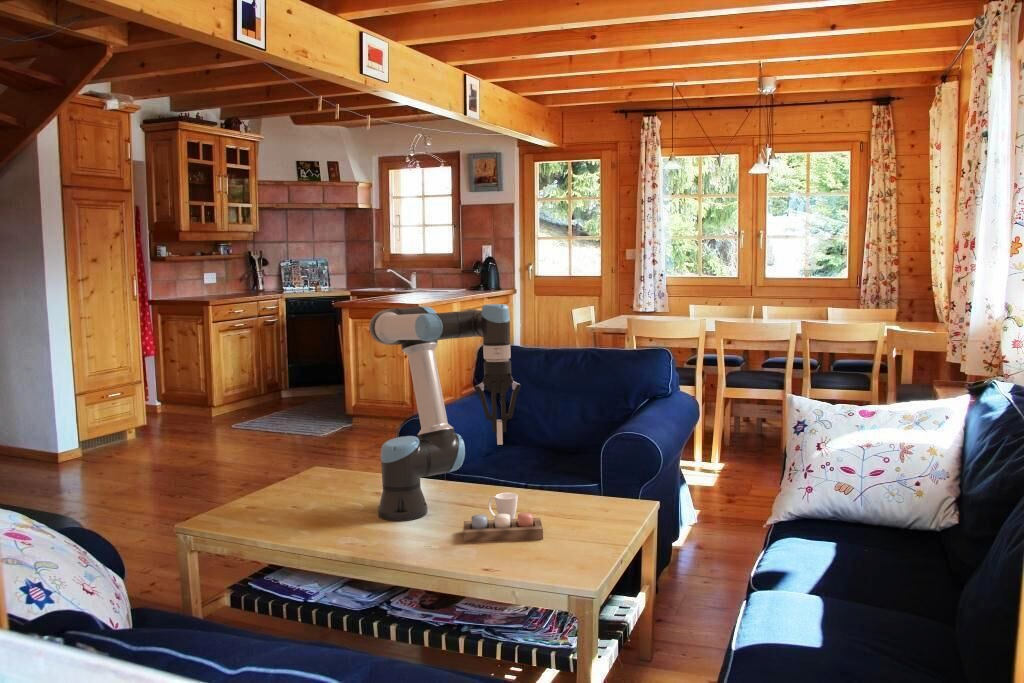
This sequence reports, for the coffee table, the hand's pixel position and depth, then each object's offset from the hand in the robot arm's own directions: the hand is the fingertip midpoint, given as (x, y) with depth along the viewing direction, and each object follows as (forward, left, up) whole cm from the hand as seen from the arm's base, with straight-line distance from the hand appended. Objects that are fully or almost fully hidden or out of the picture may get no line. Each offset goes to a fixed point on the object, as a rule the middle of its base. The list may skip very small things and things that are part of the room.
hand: (499, 443), depth 243 cm
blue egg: (-5, -5, -25) cm, 26 cm away
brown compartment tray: (0, 0, -26) cm, 26 cm away
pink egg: (+5, +5, -25) cm, 26 cm away
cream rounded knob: (0, 0, -25) cm, 25 cm away
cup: (-9, +9, -27) cm, 29 cm away
